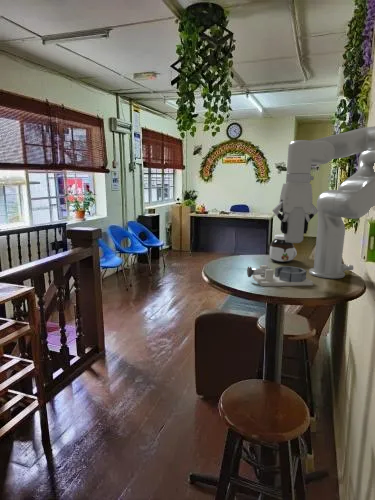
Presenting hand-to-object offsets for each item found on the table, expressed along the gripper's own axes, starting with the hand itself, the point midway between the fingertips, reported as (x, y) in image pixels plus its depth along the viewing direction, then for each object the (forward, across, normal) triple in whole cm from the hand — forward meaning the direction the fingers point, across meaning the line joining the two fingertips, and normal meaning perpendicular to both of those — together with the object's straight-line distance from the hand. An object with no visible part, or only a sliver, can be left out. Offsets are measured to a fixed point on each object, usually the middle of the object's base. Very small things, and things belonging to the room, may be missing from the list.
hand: (293, 232), depth 117 cm
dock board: (+17, +3, 0) cm, 17 cm away
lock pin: (+15, +11, 0) cm, 19 cm away
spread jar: (+18, -10, -31) cm, 37 cm away
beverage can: (+3, 0, 0) cm, 3 cm away
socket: (+16, 0, 0) cm, 16 cm away
